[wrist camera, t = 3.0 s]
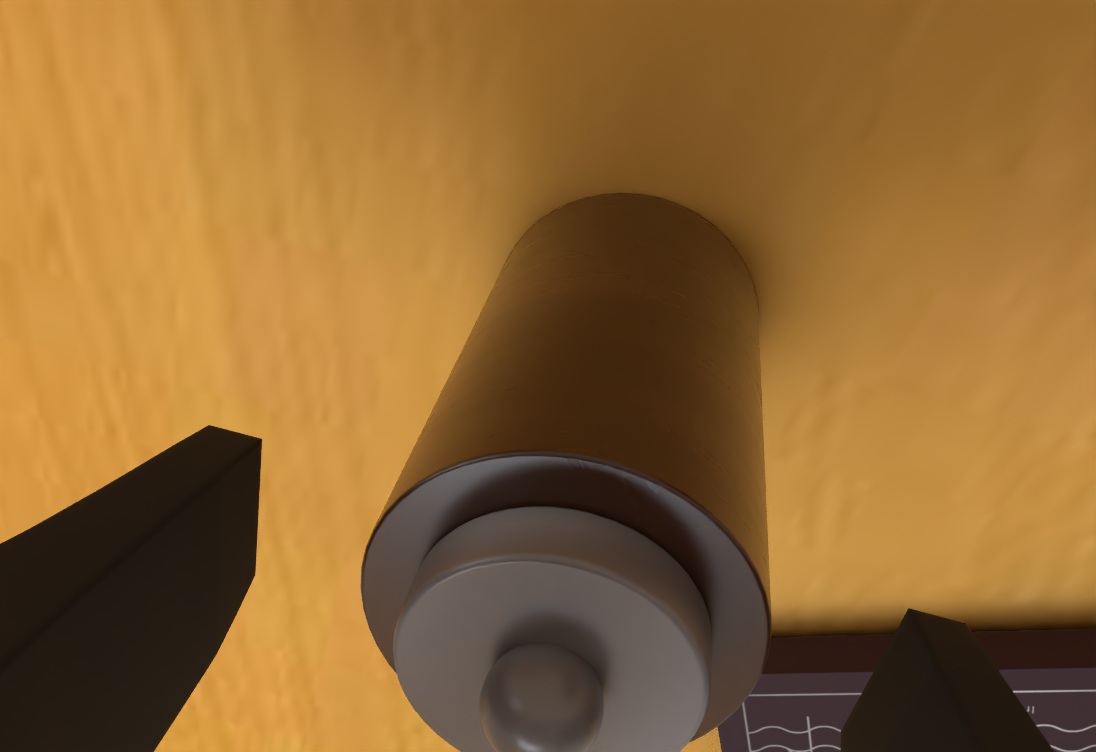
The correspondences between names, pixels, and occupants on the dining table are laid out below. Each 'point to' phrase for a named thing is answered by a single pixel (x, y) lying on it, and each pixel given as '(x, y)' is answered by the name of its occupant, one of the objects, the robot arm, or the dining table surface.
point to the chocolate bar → (849, 661)
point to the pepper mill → (587, 498)
